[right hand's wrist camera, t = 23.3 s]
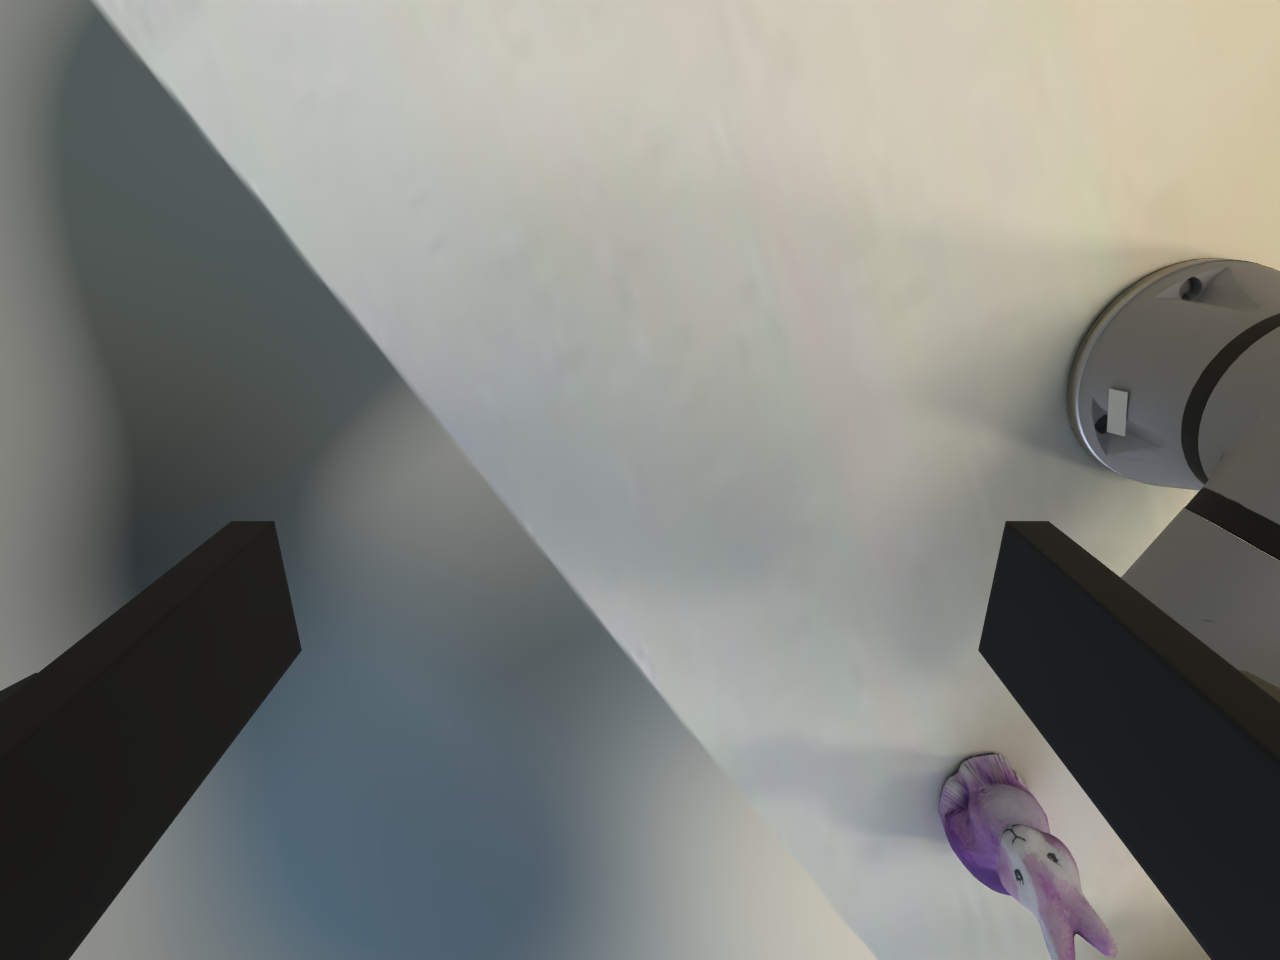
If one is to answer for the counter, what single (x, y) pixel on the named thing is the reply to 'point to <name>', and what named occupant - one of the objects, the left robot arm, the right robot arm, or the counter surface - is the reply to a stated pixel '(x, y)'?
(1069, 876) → the figurine
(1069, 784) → the counter surface
